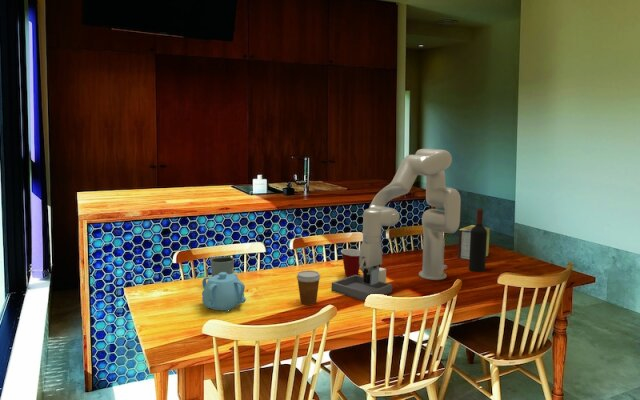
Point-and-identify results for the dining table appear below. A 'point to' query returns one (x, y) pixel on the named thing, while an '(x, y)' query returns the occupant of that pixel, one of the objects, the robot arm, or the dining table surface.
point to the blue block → (373, 275)
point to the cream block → (382, 275)
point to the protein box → (468, 242)
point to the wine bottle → (478, 245)
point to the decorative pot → (223, 292)
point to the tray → (360, 287)
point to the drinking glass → (222, 265)
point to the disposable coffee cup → (308, 286)
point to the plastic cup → (351, 261)
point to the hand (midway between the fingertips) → (370, 281)
